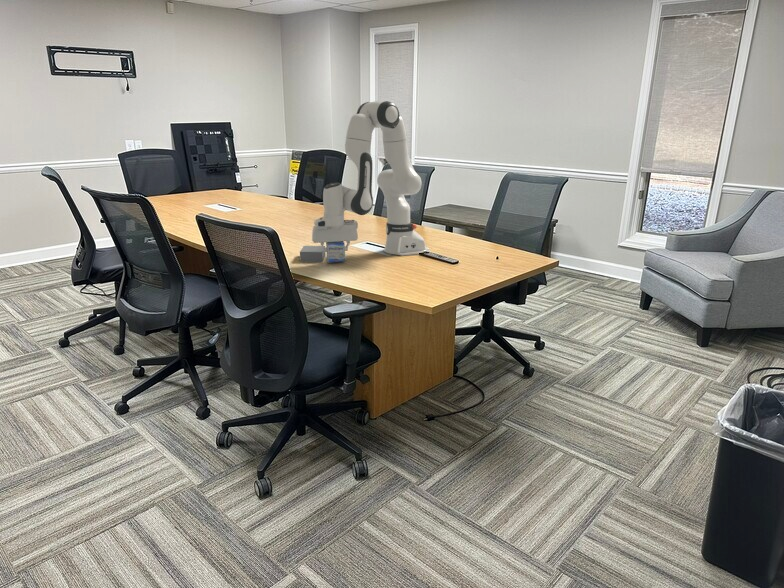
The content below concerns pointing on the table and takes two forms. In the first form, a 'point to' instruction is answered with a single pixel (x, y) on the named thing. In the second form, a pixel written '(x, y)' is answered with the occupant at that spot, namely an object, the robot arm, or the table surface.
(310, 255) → the slate block
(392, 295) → the table surface
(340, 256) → the medicine box
